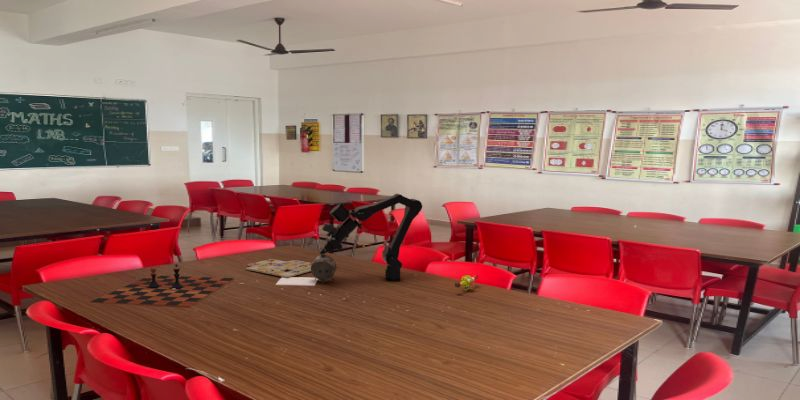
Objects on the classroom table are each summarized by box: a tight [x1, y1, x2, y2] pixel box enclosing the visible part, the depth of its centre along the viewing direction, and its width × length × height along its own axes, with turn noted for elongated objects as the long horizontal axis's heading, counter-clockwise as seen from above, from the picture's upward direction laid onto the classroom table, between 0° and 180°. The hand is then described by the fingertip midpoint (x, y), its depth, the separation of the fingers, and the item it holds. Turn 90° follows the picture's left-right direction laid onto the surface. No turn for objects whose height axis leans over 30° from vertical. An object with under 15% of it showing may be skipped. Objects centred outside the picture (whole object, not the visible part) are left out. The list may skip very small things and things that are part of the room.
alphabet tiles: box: [245, 258, 313, 278], centre depth 253 cm, size 33×28×1 cm
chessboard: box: [90, 263, 235, 308], centre depth 212 cm, size 40×40×11 cm
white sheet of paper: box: [275, 276, 319, 287], centre depth 229 cm, size 17×12×1 cm
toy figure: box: [454, 274, 479, 292], centre depth 220 cm, size 18×6×7 cm, turn 143°
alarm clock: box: [310, 247, 337, 284], centre depth 226 cm, size 11×5×16 cm, turn 84°
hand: (320, 253), depth 226 cm, fingers closed
